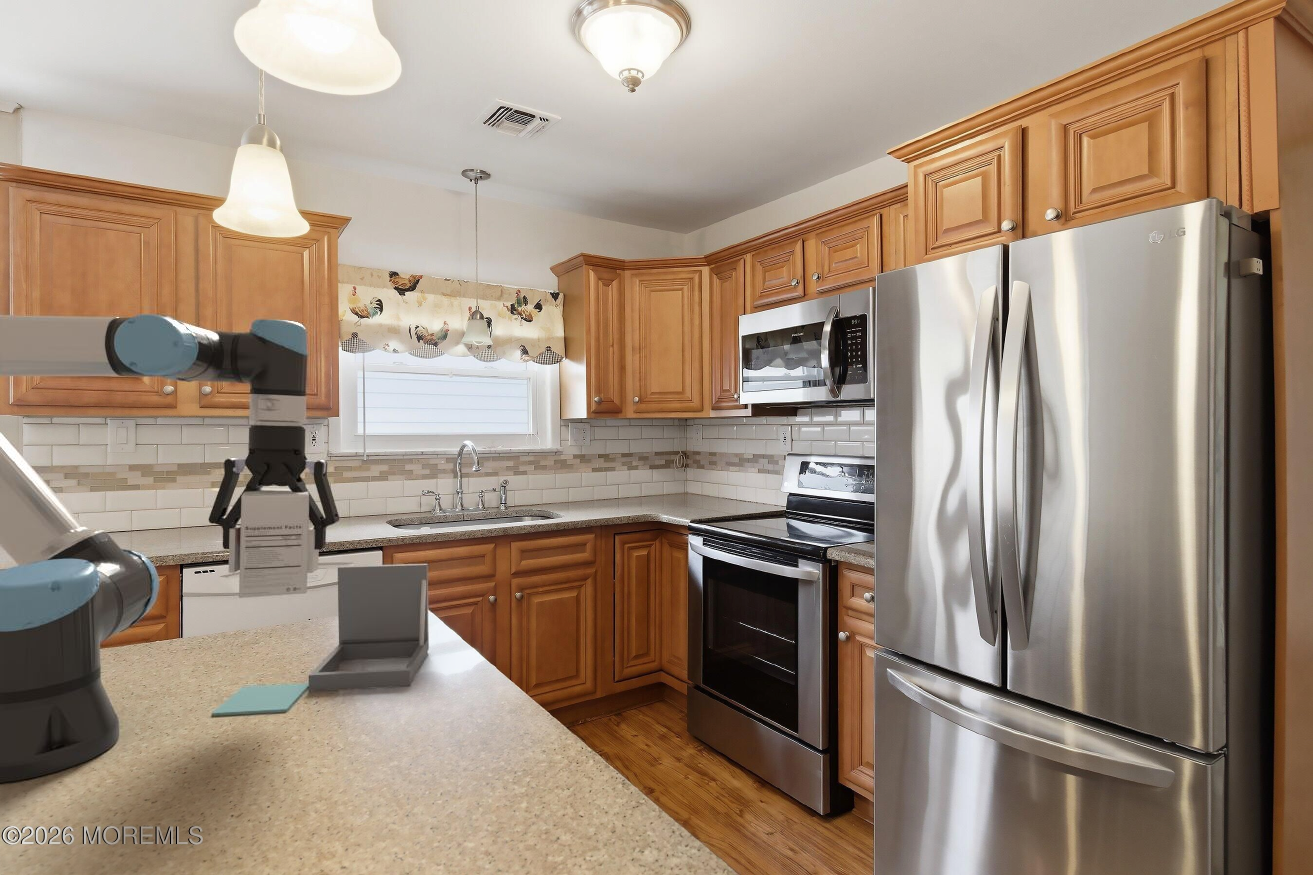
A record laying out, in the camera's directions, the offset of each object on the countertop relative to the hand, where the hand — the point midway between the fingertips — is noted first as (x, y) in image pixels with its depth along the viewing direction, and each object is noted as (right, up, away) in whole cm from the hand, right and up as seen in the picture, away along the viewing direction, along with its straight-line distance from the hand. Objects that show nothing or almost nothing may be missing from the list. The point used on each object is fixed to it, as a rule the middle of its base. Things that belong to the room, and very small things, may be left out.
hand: (274, 570), depth 106 cm
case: (+11, -19, +10) cm, 24 cm away
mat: (-1, -19, -1) cm, 19 cm away
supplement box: (0, -3, 0) cm, 3 cm away
